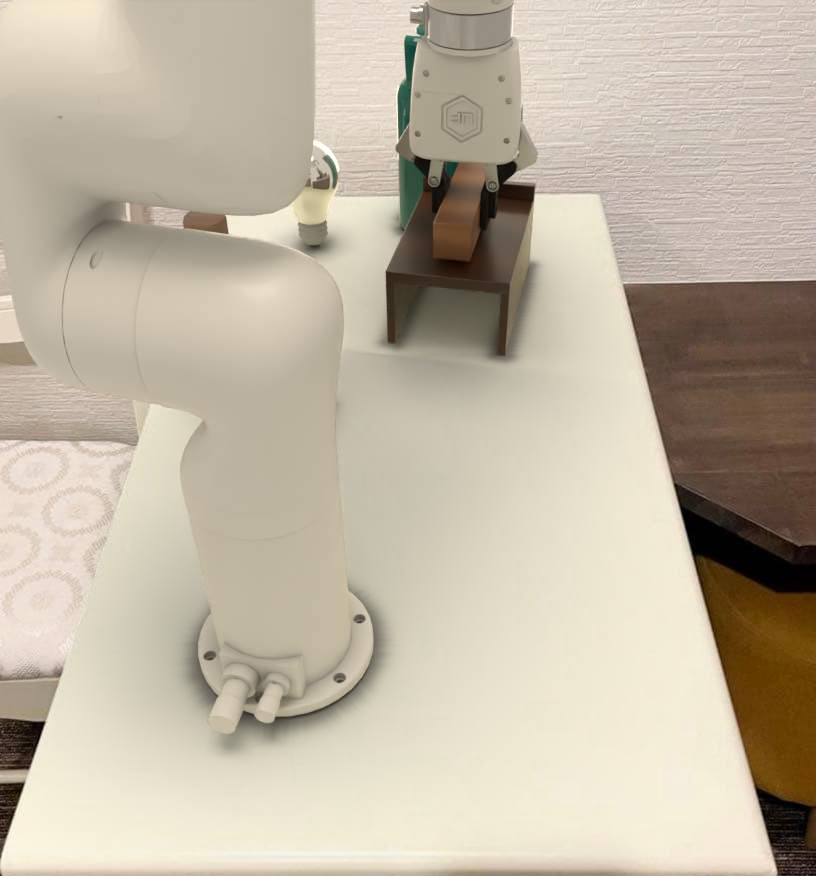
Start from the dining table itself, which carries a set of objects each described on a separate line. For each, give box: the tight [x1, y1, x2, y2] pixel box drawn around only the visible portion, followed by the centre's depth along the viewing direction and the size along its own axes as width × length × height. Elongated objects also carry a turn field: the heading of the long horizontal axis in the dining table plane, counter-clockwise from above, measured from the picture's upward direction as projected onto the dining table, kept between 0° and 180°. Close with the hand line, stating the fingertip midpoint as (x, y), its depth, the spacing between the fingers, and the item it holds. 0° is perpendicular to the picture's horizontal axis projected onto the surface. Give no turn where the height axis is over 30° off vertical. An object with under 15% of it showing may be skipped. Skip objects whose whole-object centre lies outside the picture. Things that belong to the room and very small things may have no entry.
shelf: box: [385, 175, 536, 356], centre depth 102 cm, size 18×12×10 cm, turn 168°
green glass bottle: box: [396, 24, 459, 230], centre depth 110 cm, size 10×8×22 cm
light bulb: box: [290, 140, 341, 248], centre depth 110 cm, size 7×7×12 cm
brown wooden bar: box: [433, 162, 485, 261], centre depth 98 cm, size 14×4×4 cm, turn 168°
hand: (464, 220), depth 99 cm, fingers closed on brown wooden bar, 3 cm apart
